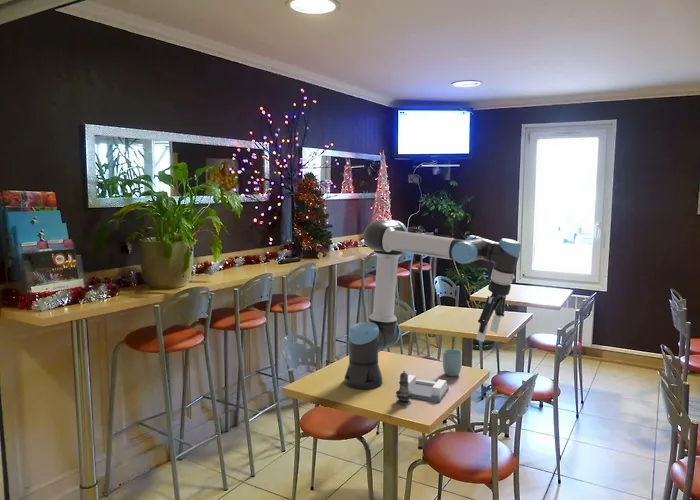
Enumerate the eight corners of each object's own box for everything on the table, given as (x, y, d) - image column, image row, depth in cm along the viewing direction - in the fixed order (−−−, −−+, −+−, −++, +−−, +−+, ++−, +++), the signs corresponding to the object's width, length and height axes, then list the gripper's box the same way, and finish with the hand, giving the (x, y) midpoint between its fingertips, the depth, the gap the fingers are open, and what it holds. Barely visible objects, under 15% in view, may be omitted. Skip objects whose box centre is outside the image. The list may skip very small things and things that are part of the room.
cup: (461, 378, 216) (462, 355, 215) (442, 377, 217) (442, 353, 216) (461, 372, 223) (461, 349, 222) (442, 371, 225) (443, 348, 224)
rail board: (398, 395, 198) (398, 383, 198) (409, 383, 210) (409, 372, 209) (439, 402, 192) (440, 390, 191) (448, 390, 203) (448, 379, 203)
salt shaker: (414, 402, 192) (415, 370, 190) (405, 407, 187) (405, 374, 186) (401, 397, 196) (402, 366, 194) (392, 402, 191) (392, 370, 190)
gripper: (498, 291, 177) (483, 348, 182) (521, 279, 197) (507, 331, 202) (477, 284, 181) (464, 340, 186) (502, 273, 201) (489, 324, 206)
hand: (486, 335), depth 194 cm, fingers open, 13 cm apart
